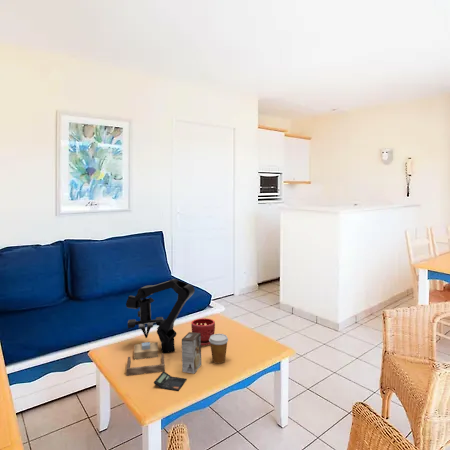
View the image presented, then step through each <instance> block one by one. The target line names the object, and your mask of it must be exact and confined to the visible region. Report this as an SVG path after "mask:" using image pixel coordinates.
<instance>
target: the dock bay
mask: <svg viewBox="0 0 450 450" xmlns="http://www.w3.org/2000/svg"><path fill="white" fill-rule="evenodd" d="M160 355H161V359H160V360H161V364H154V365H144V366H135V367H131V363H132V362H131V361H132V360H131V356H127V363H126V367H125V368H126V369H125V370H126V374H125V375H126V377H127V376H134V375H135V376H136V375H145V374H144V373H146V374H152V373H154V374H155V373H162V372H163V371H165V372H166V367H165V364H166V363H165V353H162V352H161V354H160Z"/></svg>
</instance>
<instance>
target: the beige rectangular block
mask: <svg viewBox="0 0 450 450" xmlns="http://www.w3.org/2000/svg"><path fill="white" fill-rule="evenodd" d="M145 358H146V359H151V358H152V359H153V358H159V343H158V342H150V349H146V350H142V343H137V344H134V348H133V360H135V359H136V360H144V359H145Z"/></svg>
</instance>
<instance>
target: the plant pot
mask: <svg viewBox="0 0 450 450" xmlns="http://www.w3.org/2000/svg"><path fill="white" fill-rule="evenodd" d="M190 325H191V332H194V333H201V347H204V346H205V347H206V346H209V345H210V341H209V339H210V336H211V335H213V334H215V331H216V322H215V320H214V319H211V318H206V317H205V318H204V317H203V318H197V319H194V320H192V321H191V323H190Z"/></svg>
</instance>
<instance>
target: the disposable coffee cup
mask: <svg viewBox="0 0 450 450" xmlns="http://www.w3.org/2000/svg"><path fill="white" fill-rule="evenodd" d="M209 341H210V344H209V345H210V351H211V357H212V362H213V363H214V364H223V363H225V362H226V356H227V347H228V342H229V338H228V336H227V334H224V333H214V334H213V335H211V336H210V339H209Z"/></svg>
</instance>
